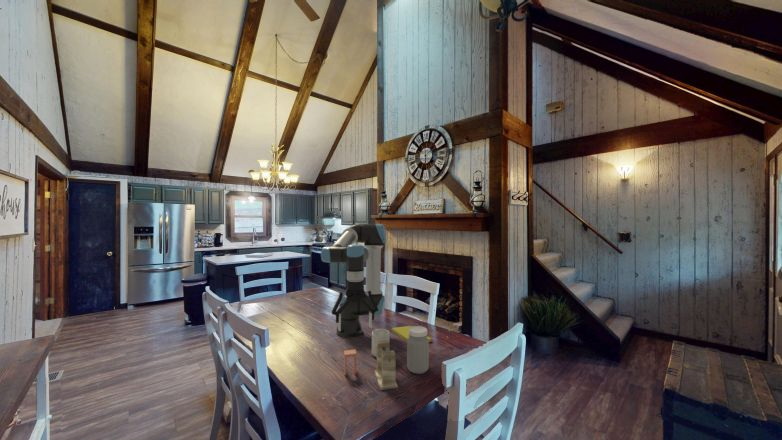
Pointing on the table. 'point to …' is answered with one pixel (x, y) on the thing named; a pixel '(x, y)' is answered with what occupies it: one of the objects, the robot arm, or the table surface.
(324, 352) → the table surface
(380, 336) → the mug
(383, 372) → the tan blocky piece
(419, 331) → the jar
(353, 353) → the orange piece
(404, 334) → the yellow rectangular slab
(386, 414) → the table surface
